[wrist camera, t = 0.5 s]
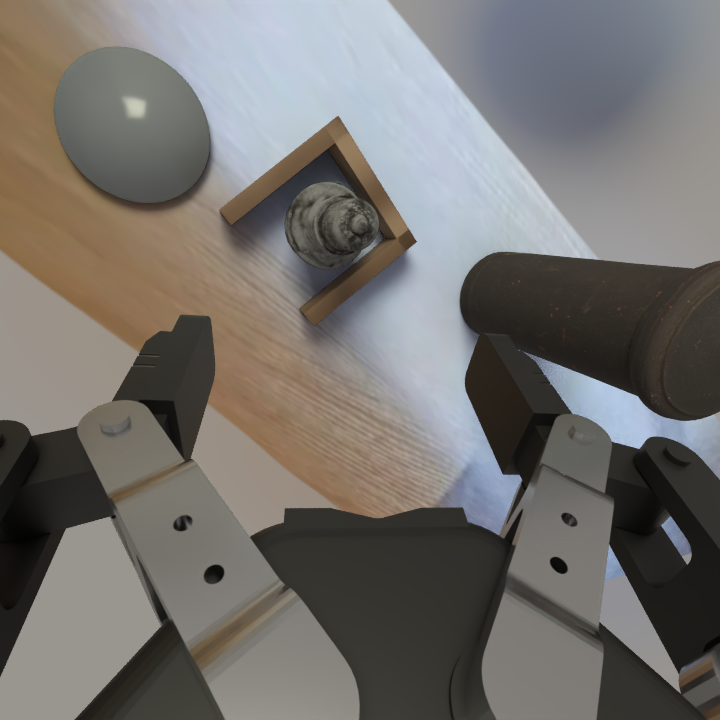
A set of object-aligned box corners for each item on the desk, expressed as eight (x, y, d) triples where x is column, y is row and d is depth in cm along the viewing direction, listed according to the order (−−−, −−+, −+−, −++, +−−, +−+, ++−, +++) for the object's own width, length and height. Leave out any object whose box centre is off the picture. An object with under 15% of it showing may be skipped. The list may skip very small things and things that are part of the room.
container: (536, 334, 42) (777, 413, 23) (455, 347, 39) (653, 445, 21) (542, 244, 39) (820, 254, 21) (455, 252, 37) (683, 271, 18)
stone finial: (269, 248, 32) (292, 256, 21) (296, 173, 31) (334, 140, 20) (338, 276, 34) (391, 297, 23) (365, 207, 33) (433, 193, 22)
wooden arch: (219, 211, 30) (219, 209, 28) (330, 124, 31) (338, 115, 29) (308, 319, 35) (314, 326, 32) (404, 241, 35) (416, 241, 33)
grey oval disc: (21, 106, 26) (17, 104, 25) (138, 19, 26) (136, 14, 26) (136, 230, 29) (135, 230, 29) (237, 151, 30) (237, 149, 29)
